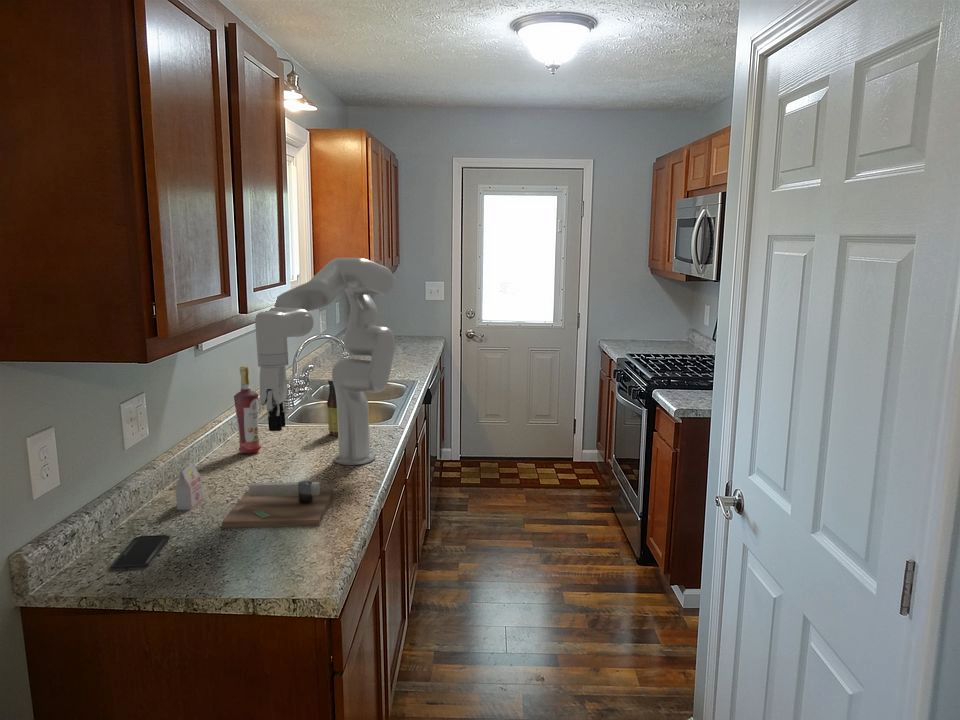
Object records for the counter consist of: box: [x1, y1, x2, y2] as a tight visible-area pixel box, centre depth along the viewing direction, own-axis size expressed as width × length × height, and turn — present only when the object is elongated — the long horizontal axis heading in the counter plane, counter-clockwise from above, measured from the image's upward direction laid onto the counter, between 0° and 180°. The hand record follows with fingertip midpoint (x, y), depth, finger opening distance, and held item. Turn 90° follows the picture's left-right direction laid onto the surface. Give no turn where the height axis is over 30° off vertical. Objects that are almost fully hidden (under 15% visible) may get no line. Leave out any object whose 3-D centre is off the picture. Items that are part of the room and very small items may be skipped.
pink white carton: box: [174, 463, 204, 511], centre depth 176 cm, size 4×7×10 cm, turn 177°
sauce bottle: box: [326, 378, 338, 437], centre depth 237 cm, size 7×6×20 cm
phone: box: [110, 534, 171, 571], centre depth 150 cm, size 8×1×15 cm
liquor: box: [233, 365, 262, 455], centre depth 217 cm, size 7×7×28 cm
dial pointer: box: [248, 480, 321, 503], centre depth 174 cm, size 18×4×5 cm, turn 92°
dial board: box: [221, 487, 335, 529], centre depth 173 cm, size 21×23×2 cm
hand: (277, 428), depth 178 cm, fingers open, 3 cm apart
